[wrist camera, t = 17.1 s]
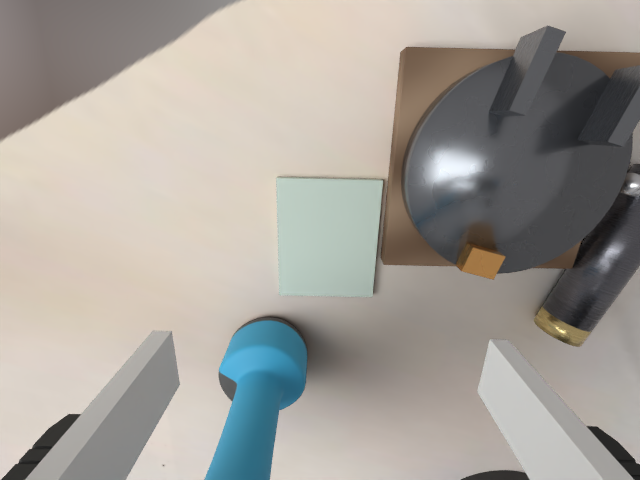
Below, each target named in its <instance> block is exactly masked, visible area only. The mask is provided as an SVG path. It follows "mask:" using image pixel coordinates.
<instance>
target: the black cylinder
mask: <svg viewBox="0 0 640 480" xmlns="http://www.w3.org/2000/svg"><path fill="white" fill-rule="evenodd" d="M639 266H640V164H633V166H632V167H631V169H630V170H629V172H628V173H627V175H626V178H625V180H624V183H623V185H622V187H621V190H620V192H619V194H618V196H617V197H616V199H615V201H614V203H613V205H612V206H611V208H610V209H609V210H608V212H607V213H606V215H605V216H604V218H603V219H602V220H601V221H600V222H599V223H598V225H597V226H596V227H595V228H594V229H593V230H592V231H591V232H590V233H589V234H588V236H587V237H586V239H585V240H584V242H583V243H582V245H581V247H580V248H579V250H578V253H577V256H576V259H575V262H574V265H573V268H572V269H566V270H565V271H564V273H563V275H562V276H561V278H560V279H559V281H558V282H557V284H556V286H555V287H554V289H553V290H552V292H551V293H550V295H549V296H548V298H547V300H546V301H545V303H544V304H543V306H542V307H541V309H540V310H539V312H538V314H537V315H536V317H535V318H534V322H535V324H536V325H537V326H538V327H539V328H541V329H542V330H543V331H545V332H546V333H547V334H549V335H551V336H552V337H554V338H556V339H558V340H560V341H562V342H564V343H567V344H569V345H572V346H577V347H580V346H581V345H582V344H583V343H584V341H585V340H586V339H587V337H588V336H589V334H590V333H591V332H592V330H593V329H594V328H595V326H596V325H597V324H598V322H599V321H600V319H601V318H602V317H603V315H604V314H605V313H606V311H607V310H608V308H609V307H610V306H611V304H612V303H613V302H614V300H615V299H616V298H617V296H618V295H619V293H620V292H621V291H622V289H623V288H624V287H625V285H626V284H627V282H628V281H629V280H630V278H631V277H632V276H633V274H634V273H635V271H636V270H637V269H638V267H639Z"/></svg>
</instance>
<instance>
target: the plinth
mask: <svg viewBox="0 0 640 480" xmlns="http://www.w3.org/2000/svg"><path fill="white" fill-rule="evenodd" d="M514 52H515V50H506V49H465V48H424V47H406V48H405V49H404V50H403V51H401V53H400V63H399V73H398V84H397V94H396V104H395V114H394V125H393V135H392V145H391V155H390V166H389V176H388V186H387V196H386V207H385V217H384V227H383V237H382V248H381V259H382V262H383V264H384V265H419V266H456V265H455V264H453V263H451V262H449V261H448V260H446V259H445V258H443V257H442V256H440V255H439V254H438V253H437V252H436V251H435V250H434V249H433V248H432V247H430V245H429V244H428V243H427V242H426V241H425V240H424V239H423V238H422V236H421V235H420V234H419V233H418V231H417V230H416V229H415V227H414V226H413V224H412V222H411V221H410V219H409V217H408V214H407V211H406V209H405V206H404V202H403V197H402V189H401V170H402V164H403V158H404V154H405V151H406V147H407V144H408V141H409V139H410V137H411V134H412V132H413V130H414V128H415V126H416V125H417V123H418V121H419V119H420V118H421V116H422V115H423V114H424V112H425V111H426V110H427V108H428V107H429V106H430V104H431V103H432V102H433V101H434V100H435V99H436V98H437V97H438V96H439V95H440V94H441V93H442V92H443V91H444V90H445V89H447V88H448V87H449V86H450V85H451V84H452V83H454V82H455V81H457V80H458V79H460V78H461V77H463V76H464V75H466V74H468V73H470V72H472V71H474V70H476V69H478V68H480V67H483V66H486V65H488V64H491V63H494V62H497V61H499V60H502V59H505V58H508V57H511V56H513V55H514ZM557 52H559V53H565V54H569V55H573V56H577V57H579V58H581V59H583V60H586V61H588V62H590V63H592V64H593V65H595V66H596V67H597V68H599V69H600V70H602V71H603V72H604V73H605V74H606V75H607V76H608V77H609V78H611V76H612V75H613V73H614V71H615V70H617V69H622V68H627V67H633V66H638V65H640V53H630V52H589V51H557ZM581 241H582V240H581ZM581 241H580V242H579V243H577V244H576V245H575V246H574V247H572V248H571V249H569V250H568V251H566V252H565V253H563V254H561V255H560V256H558V257H556V258H554V259H552V260H550V261H548V262H546V263H544V264H541V265H538V266H536V267H533V268H558V269H572V268H573V265H574V262H575V259H576V256H577V253H578V250H579V247H580V244H581Z"/></svg>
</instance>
